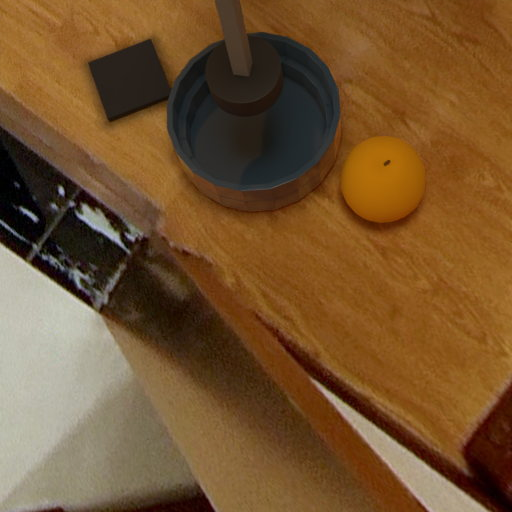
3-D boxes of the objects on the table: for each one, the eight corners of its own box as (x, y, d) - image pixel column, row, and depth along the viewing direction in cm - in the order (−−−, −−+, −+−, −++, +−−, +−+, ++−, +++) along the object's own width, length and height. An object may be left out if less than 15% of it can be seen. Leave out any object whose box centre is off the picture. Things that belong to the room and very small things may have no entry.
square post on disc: (289, 55, 74) (265, -149, 52) (275, 122, 73) (243, -59, 50) (218, 46, 75) (163, -159, 53) (202, 111, 74) (138, -70, 51)
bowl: (304, 41, 88) (301, 8, 82) (365, 176, 83) (367, 151, 77) (157, 98, 88) (144, 69, 82) (209, 237, 83) (199, 216, 77)
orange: (332, 164, 84) (330, 131, 77) (411, 146, 84) (417, 111, 76) (350, 239, 81) (351, 213, 74) (432, 222, 81) (440, 193, 74)
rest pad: (152, 42, 90) (150, 38, 89) (173, 97, 88) (172, 94, 87) (89, 66, 90) (87, 62, 89) (109, 122, 88) (107, 118, 87)
